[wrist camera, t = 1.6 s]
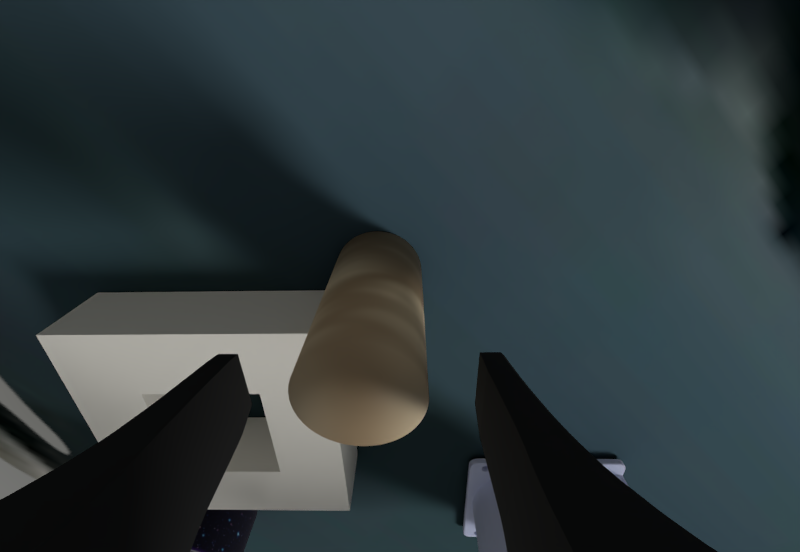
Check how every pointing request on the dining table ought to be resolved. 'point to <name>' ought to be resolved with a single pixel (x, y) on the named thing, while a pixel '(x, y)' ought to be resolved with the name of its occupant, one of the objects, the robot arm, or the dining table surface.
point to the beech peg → (366, 347)
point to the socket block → (181, 356)
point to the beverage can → (224, 531)
